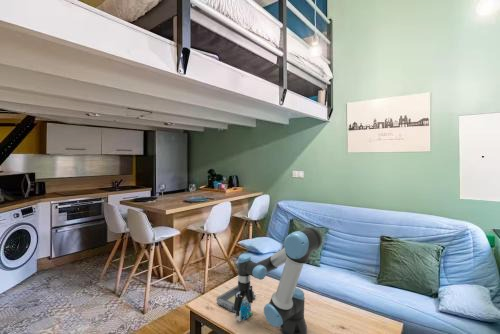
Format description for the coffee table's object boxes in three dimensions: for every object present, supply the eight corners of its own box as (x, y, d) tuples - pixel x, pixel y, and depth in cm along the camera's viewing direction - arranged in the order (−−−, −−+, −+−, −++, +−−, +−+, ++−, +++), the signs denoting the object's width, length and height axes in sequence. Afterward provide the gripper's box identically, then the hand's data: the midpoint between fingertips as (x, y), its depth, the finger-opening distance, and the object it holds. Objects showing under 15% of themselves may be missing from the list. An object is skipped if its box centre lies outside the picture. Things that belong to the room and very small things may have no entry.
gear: (232, 315, 152) (239, 299, 158) (234, 318, 157) (241, 301, 162) (248, 323, 148) (254, 305, 154) (250, 325, 152) (256, 308, 158)
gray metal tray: (256, 298, 175) (256, 292, 175) (234, 314, 157) (234, 307, 157) (238, 290, 185) (238, 284, 185) (215, 303, 167) (215, 298, 167)
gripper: (250, 272, 164) (250, 306, 165) (227, 285, 147) (227, 322, 148) (259, 276, 159) (259, 310, 160) (236, 289, 142) (236, 328, 143)
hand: (243, 316), depth 154 cm, fingers open, 9 cm apart
